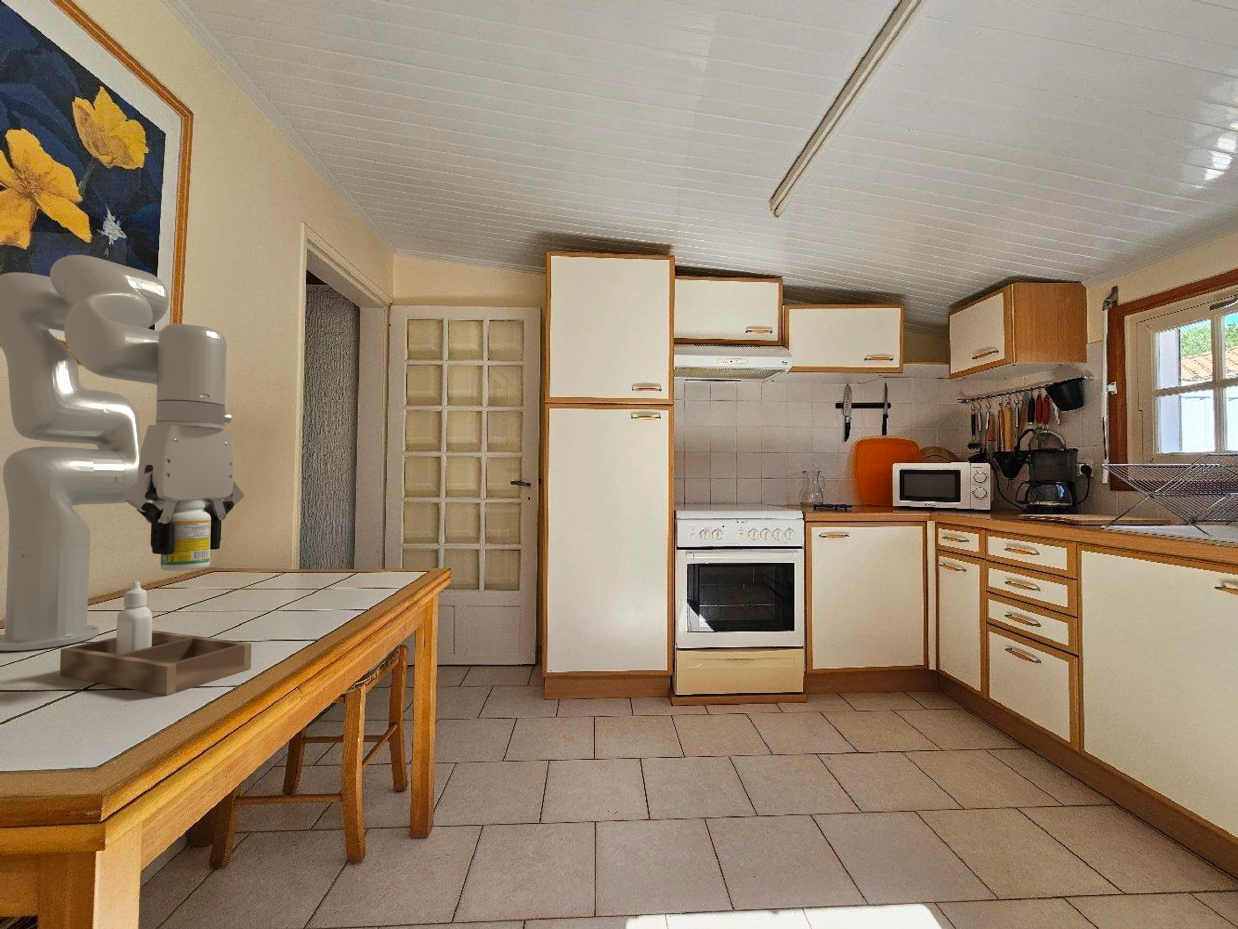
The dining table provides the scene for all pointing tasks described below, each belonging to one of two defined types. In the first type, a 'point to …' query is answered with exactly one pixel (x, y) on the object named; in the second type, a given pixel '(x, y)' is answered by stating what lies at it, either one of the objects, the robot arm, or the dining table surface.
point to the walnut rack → (157, 662)
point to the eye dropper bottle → (134, 622)
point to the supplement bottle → (189, 537)
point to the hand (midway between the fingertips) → (187, 549)
